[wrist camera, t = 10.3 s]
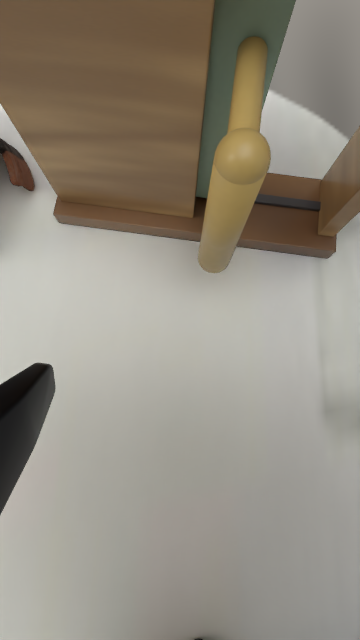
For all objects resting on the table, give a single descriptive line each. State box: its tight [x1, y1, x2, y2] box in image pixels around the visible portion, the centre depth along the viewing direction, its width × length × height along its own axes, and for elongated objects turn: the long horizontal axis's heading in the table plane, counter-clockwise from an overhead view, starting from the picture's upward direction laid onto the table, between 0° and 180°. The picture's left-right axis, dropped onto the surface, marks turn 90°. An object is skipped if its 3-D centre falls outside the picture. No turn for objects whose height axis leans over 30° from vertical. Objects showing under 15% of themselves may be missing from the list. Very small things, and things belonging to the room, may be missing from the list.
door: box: [196, 0, 296, 273], centre depth 15 cm, size 7×9×12 cm
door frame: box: [0, 0, 360, 258], centre depth 16 cm, size 5×19×16 cm, turn 82°
